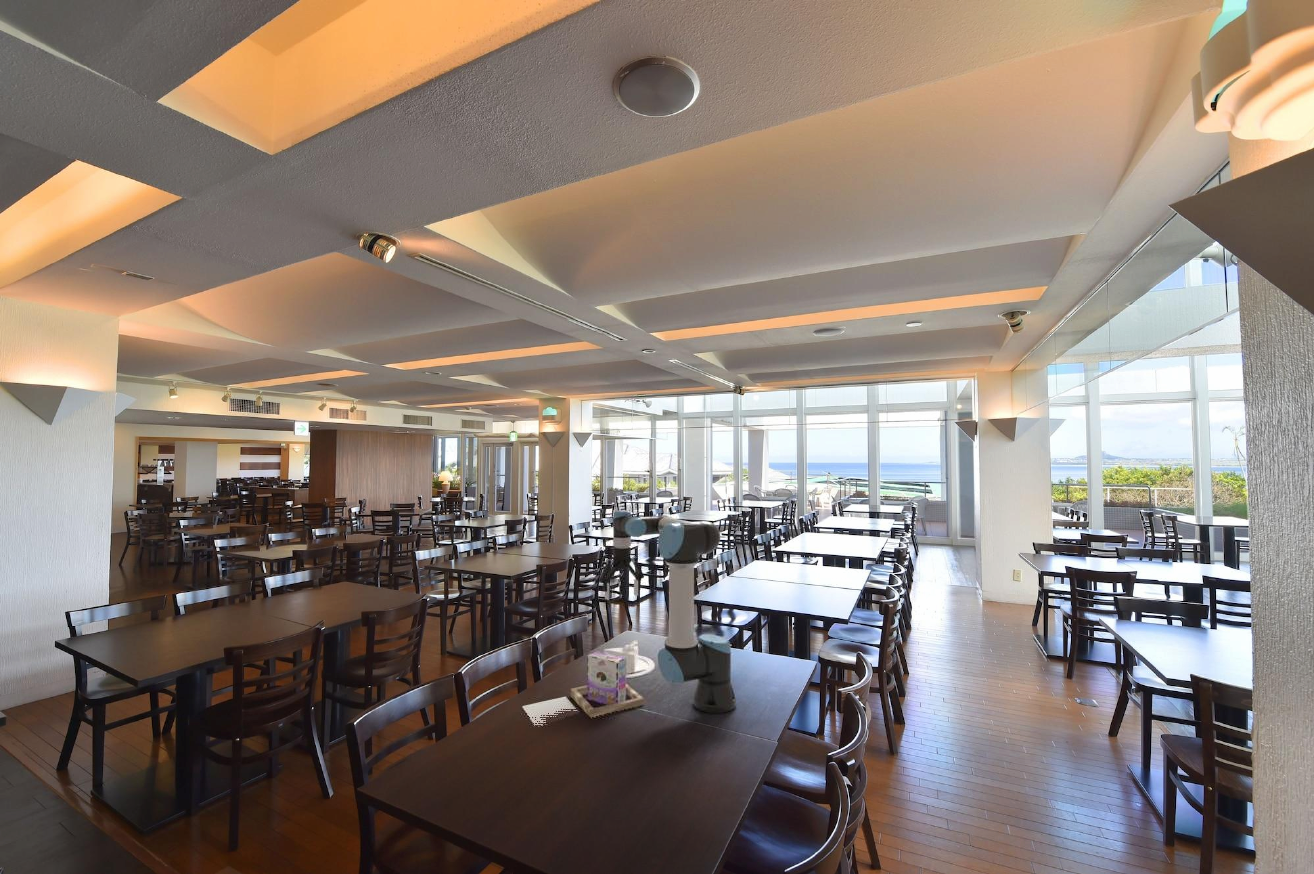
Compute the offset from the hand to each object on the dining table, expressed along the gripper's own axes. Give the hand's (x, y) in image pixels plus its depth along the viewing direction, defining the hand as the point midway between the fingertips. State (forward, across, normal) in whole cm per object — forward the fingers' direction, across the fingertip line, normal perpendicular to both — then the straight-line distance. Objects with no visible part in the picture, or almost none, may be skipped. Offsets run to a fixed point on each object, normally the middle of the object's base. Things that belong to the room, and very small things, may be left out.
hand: (621, 597), depth 227 cm
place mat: (+29, +39, +27) cm, 55 cm away
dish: (+30, -1, +1) cm, 30 cm away
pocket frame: (+29, +19, +27) cm, 44 cm away
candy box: (+29, +19, +27) cm, 44 cm away
